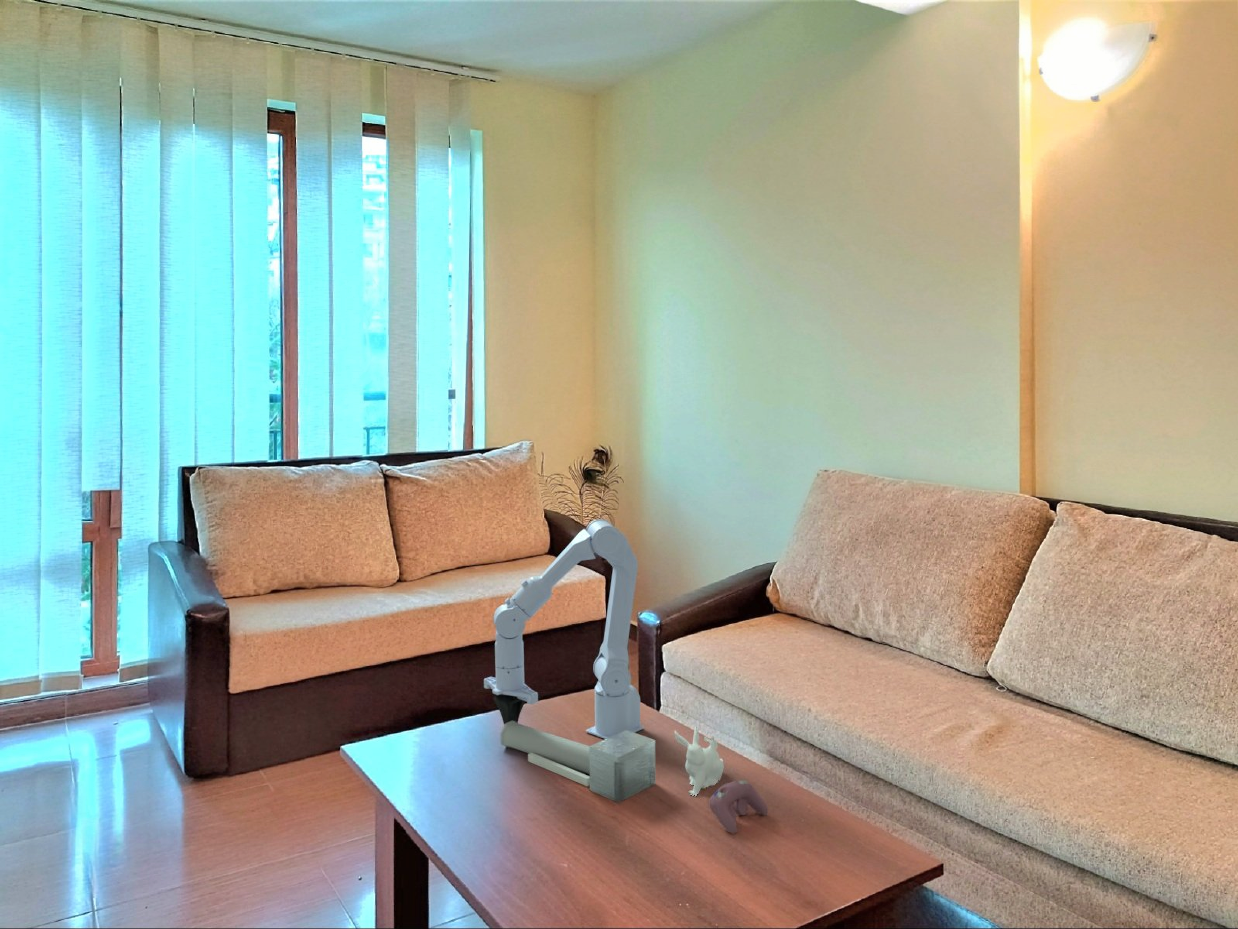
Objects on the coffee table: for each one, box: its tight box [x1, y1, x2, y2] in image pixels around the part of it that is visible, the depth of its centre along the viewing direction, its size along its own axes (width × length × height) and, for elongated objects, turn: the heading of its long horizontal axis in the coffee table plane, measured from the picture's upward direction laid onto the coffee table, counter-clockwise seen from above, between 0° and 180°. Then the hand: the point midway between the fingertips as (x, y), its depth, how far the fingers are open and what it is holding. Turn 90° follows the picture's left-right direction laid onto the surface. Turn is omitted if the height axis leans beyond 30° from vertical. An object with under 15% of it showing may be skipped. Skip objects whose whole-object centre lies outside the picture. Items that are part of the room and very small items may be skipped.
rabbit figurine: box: [674, 726, 725, 798], centre depth 164 cm, size 12×8×10 cm, turn 138°
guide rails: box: [527, 753, 590, 787], centre depth 170 cm, size 8×16×1 cm, turn 47°
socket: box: [588, 730, 656, 804], centre depth 161 cm, size 10×7×8 cm
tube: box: [500, 720, 590, 775], centre depth 173 cm, size 5×5×25 cm
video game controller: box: [709, 780, 769, 834], centre depth 150 cm, size 10×5×7 cm, turn 135°
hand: (511, 729), depth 182 cm, fingers closed
